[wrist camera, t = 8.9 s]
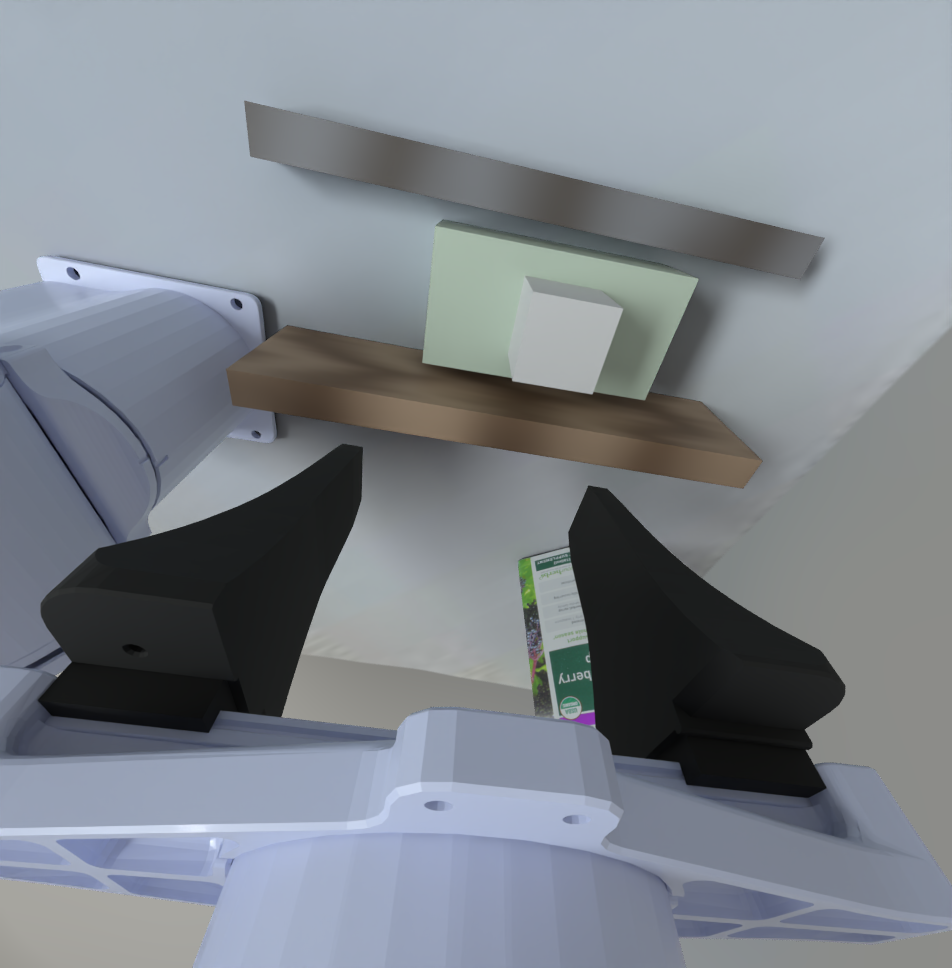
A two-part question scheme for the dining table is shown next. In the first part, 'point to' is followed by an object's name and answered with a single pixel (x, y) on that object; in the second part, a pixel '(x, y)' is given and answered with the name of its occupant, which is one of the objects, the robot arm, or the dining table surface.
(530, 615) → the syrup box
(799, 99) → the dining table surface
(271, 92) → the dining table surface
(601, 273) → the mint block with knob
